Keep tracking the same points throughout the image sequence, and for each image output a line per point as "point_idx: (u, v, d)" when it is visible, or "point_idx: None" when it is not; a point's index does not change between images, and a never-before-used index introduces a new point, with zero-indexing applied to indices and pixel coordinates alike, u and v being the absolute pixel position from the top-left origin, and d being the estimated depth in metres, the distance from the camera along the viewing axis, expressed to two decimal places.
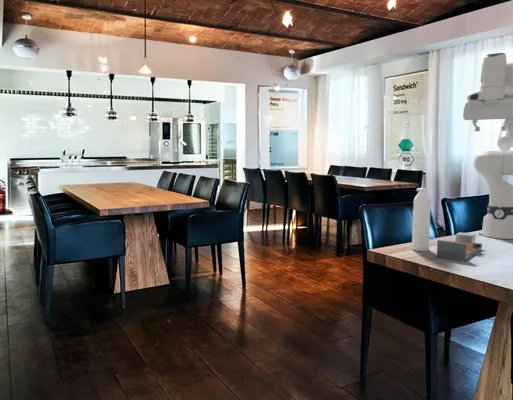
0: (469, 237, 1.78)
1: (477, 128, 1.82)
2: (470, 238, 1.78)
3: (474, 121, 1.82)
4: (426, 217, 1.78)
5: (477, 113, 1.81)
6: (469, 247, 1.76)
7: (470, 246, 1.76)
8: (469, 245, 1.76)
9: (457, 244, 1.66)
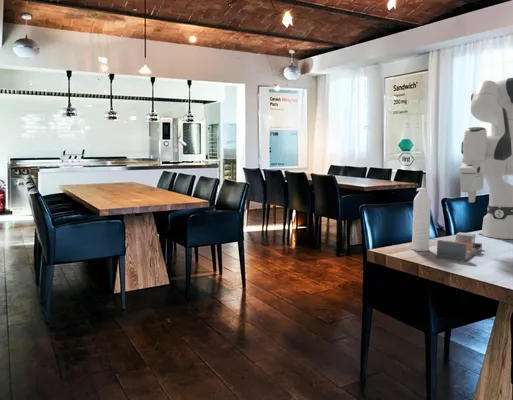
0: (469, 237, 1.78)
1: (473, 199, 1.84)
2: (470, 238, 1.78)
3: (473, 192, 1.82)
4: (426, 217, 1.78)
5: (474, 186, 1.79)
6: (469, 247, 1.76)
7: (470, 246, 1.76)
8: (469, 245, 1.76)
9: (457, 244, 1.66)
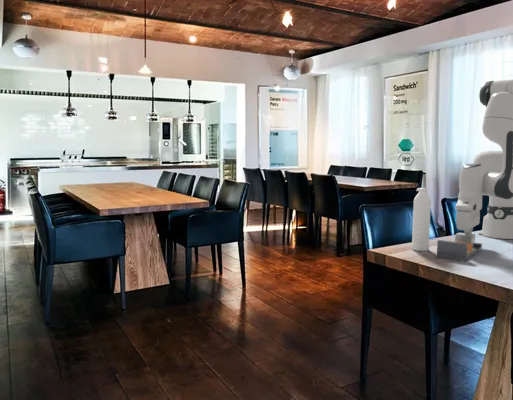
0: (469, 237, 1.78)
1: None
2: (469, 238, 1.77)
3: (470, 229, 1.82)
4: (425, 217, 1.78)
5: (470, 223, 1.79)
6: (469, 247, 1.76)
7: (470, 246, 1.76)
8: (469, 245, 1.76)
9: (457, 244, 1.66)
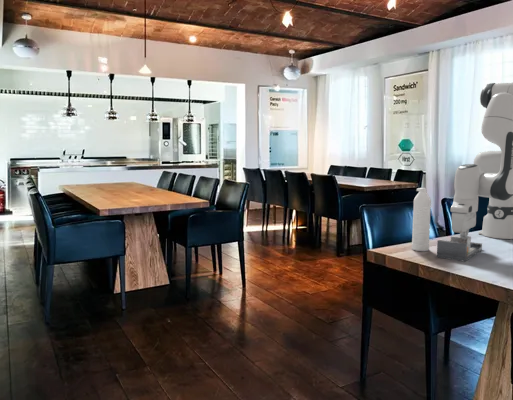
0: (464, 240, 1.73)
1: None
2: (465, 240, 1.73)
3: (465, 231, 1.77)
4: (426, 217, 1.78)
5: (466, 225, 1.74)
6: None
7: None
8: None
9: (457, 244, 1.66)
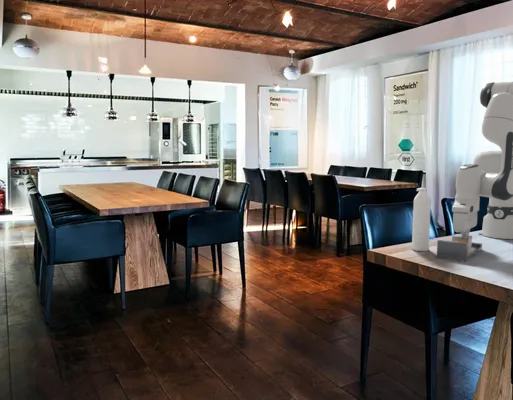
0: (466, 239, 1.74)
1: None
2: (466, 240, 1.74)
3: (467, 231, 1.79)
4: (426, 217, 1.78)
5: (467, 225, 1.76)
6: None
7: None
8: None
9: (457, 244, 1.66)
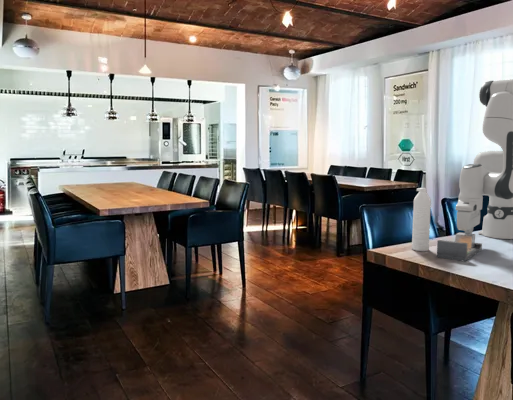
0: (469, 237, 1.78)
1: None
2: (470, 238, 1.78)
3: (470, 229, 1.83)
4: (425, 217, 1.78)
5: (470, 223, 1.79)
6: None
7: None
8: None
9: (457, 244, 1.66)
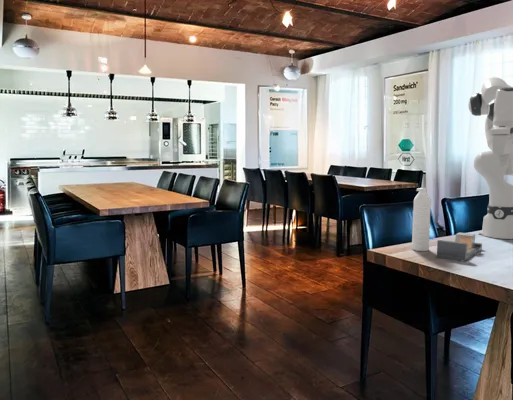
0: (469, 237, 1.78)
1: (505, 163, 1.76)
2: (470, 238, 1.78)
3: (505, 156, 1.75)
4: (426, 217, 1.78)
5: (506, 148, 1.71)
6: None
7: None
8: None
9: (457, 244, 1.66)
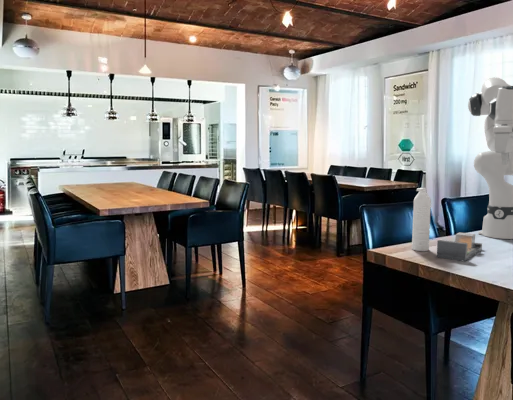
0: (469, 237, 1.78)
1: (507, 161, 1.76)
2: (470, 238, 1.78)
3: (507, 154, 1.74)
4: (426, 217, 1.78)
5: (508, 147, 1.71)
6: None
7: None
8: None
9: (457, 244, 1.66)
